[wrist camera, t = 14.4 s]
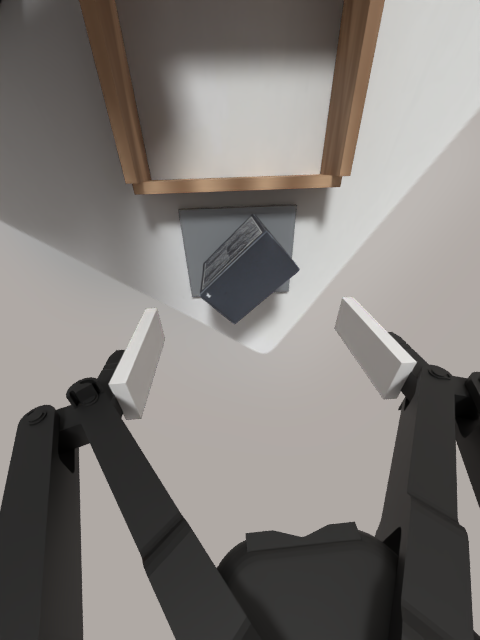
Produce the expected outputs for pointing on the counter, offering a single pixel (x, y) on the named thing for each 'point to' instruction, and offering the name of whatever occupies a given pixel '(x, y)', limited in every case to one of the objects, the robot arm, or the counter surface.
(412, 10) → the counter surface
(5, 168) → the counter surface
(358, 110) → the open wooden tray
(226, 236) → the mat
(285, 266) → the small box
